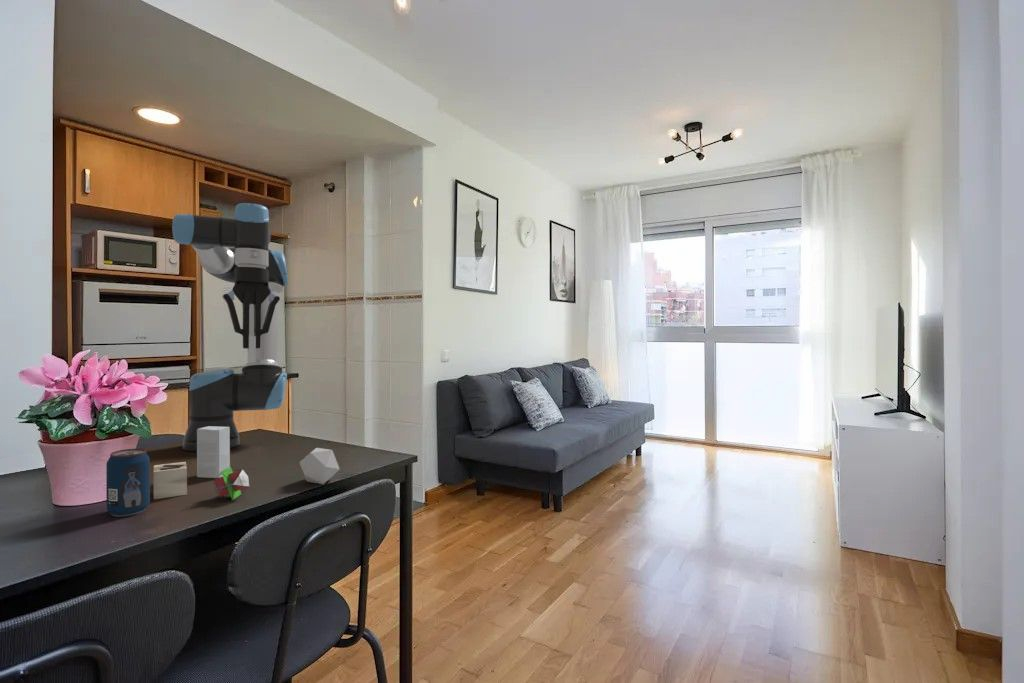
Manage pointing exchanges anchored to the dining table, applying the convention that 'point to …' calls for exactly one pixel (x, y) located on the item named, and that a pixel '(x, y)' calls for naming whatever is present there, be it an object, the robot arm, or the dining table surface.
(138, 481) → the soda can
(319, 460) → the die
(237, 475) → the geometric puzzle
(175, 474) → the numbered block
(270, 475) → the dining table surface
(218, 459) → the skincare box
